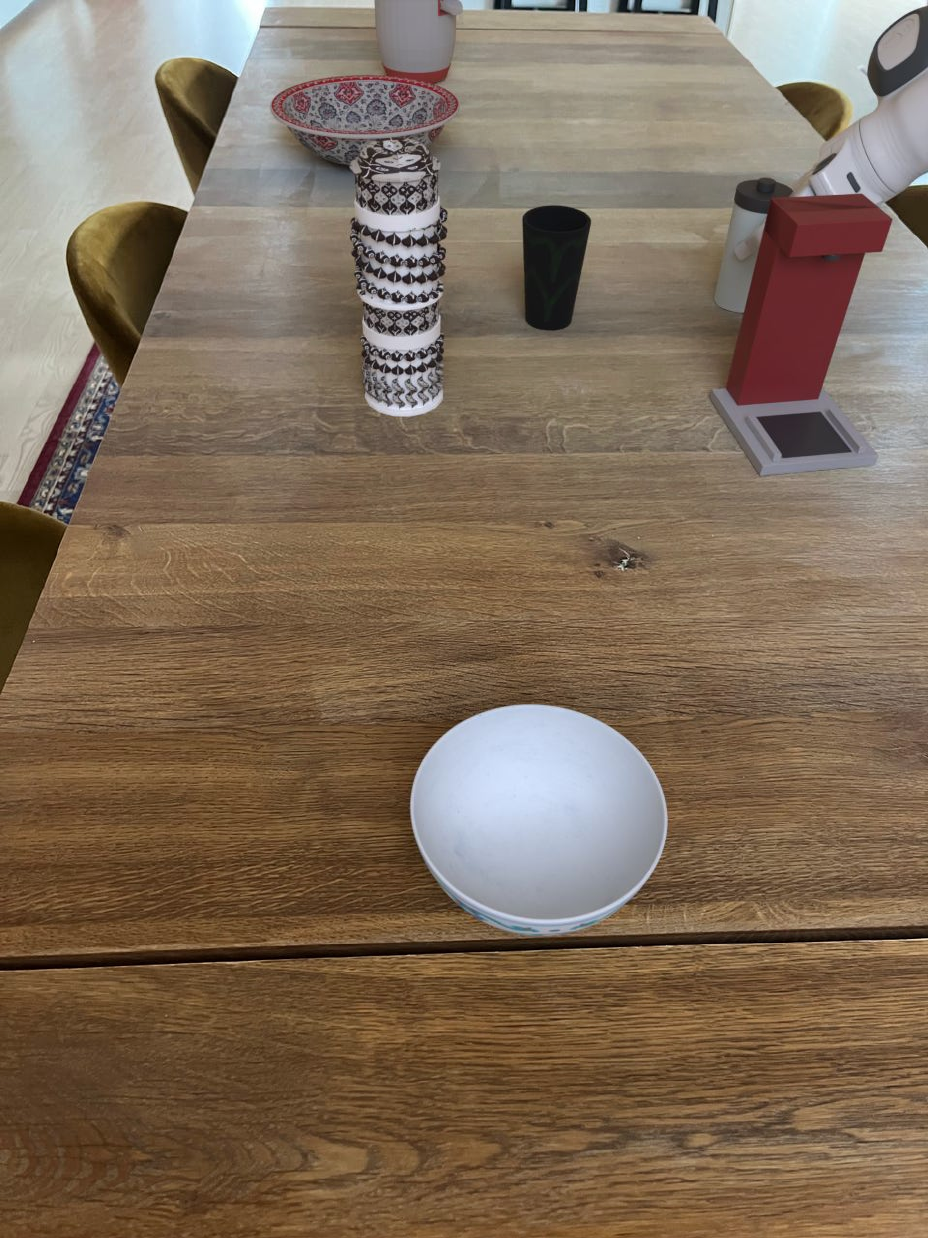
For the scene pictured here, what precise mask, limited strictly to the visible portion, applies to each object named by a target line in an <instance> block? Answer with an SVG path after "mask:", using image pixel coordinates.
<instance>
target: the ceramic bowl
mask: <svg viewBox="0 0 928 1238" xmlns="http://www.w3.org/2000/svg"><path fill="white" fill-rule="evenodd" d="M460 109H461V104H460V99H458V97H457V96H456V95H455V93H453V92H451V91H450V90H448V89H447V88H444V87H442V86H440V85H438V84H434V83H428V82H424V81H420V80H416V79H410V78H404V77H395V76H387V75H383V74H381V75H380V74H379V75H377V74H355V75H353V74H352V75H340V76H331V77H323V78H319V79H313V80H309V81H305V82H302V83H298V84H296V85H293V86H291V87H288V88H285V89H284V90H282V91H280V92H279V93H277V94H276V95H275V96H274V97H273V98H272V100H271V102H270V104H269V110H270V113H271V115H272V116H273V118H274V119H275V120H276V121H277V122H279V123H280V124H282V125H283V126H286V127H287V128H288V130H289V131H290V132H291V134H292V135H293V137H294V138H295V139H296V140H297V141H298V142H299V144H301V145H302V146H304V148H305V149H307V150H308V151H309V152H310V153H313V154H314V155H315V156H317V157H320V158H321V159H323V160H326V161H329V162H331V163H335V164H340V165H345V166H350V164H351V161H352V160H354V159H355V158H357V157H358V156H359V155H360V153H361V151H362V149H363V147H364V146H365V145H367V144H368V143H370V142H372V141H375V140H379V139H383V138H407V139H412V140H415V141H418V142H420V143H422V144H423V145H424V146H425V147H426V148H427V149H428V148H429V147H430V146H431V145H433V143H434V142H435V141H436V139H438V137H439V135H440V134H441V132H442V131H443V129H444V127H445V125H446V124H448V123H450V122H451V121H453V120H454V119H455V118H456V117H457V116H458V115H459V112H460Z"/></svg>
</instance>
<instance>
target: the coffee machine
mask: <svg viewBox="0 0 928 1238" xmlns="http://www.w3.org/2000/svg"><path fill="white" fill-rule="evenodd" d="M893 221H894V219H893V218H892V217H891V216H890V215H889V214H888V213H886V211H884V210H883V209H881V208H880V207H879V206H877V205H875V204H874V203H873V202H872V201H871V200H869V199H868V198H867V197H866V196H865V195H863V194H862V193H861V194H842V195H822V196H803V197H783V198H771V201H770V205H769V209H768V213H767V217H766V222H765V226H764V230H763V234H762V238H761V242H760V247H759V251H758V255H757V259H756V263H755V268H754V272H753V276H752V280H751V284H750V288H749V293H748V297H747V301H746V305H745V309H744V313H742V318H741V322H740V326H739V329H738V330H739V331H738V334H737V339H736V342H735V346H734V347H735V348H734V352H733V355H732V360H731V364H730V369H729V372H728V375H727V376H728V377H727V381H726V384H725V387H723V388H712V389H711V393H710V396H709V397H710V398H709V400H710V402H711V403H712V405H713V406H714V407H715V409H716V411H717V413H718V414H719V415H720V417H721V419H722V420H723V422H724V423H725V424H726V426H727V428H728V429H729V431H730V432H731V434H732V435H733V437H734V438H735V441H736V442H737V443H738V444H739V446H740V448H741V449H742V451H743V452H744V455H746V457H747V458H748V460H749V462H750V463H751V465H752V466H753V467H754V469H755V471H756V472H757V474H758V476H760V477H763V476H773V475H775V476H776V475H786V474H795V473H797V474H798V473H806V472H817V471H818V472H819V471H829V470H839V469H841V470H842V469H850V468H863V467H873V466H876V463H877V461H878V458H879V454H878V453H877V452H876V450H875V449H874V448H873V447H872V446H871V444H870V443H869V442H868V440H866V438H865V436H863V434H862V433H861V432H860V431H859V430H858V428H857V427H856V426H855V425H854V423H853V422H852V421H851V420H850V419H849V417H848V416H847V415H846V414H845V412H843V410H842V409H841V408H840V406H839V405H838V404H837V403H836V401H835V400H834V399H833V398H832V396H831V395H830V394H829V393H828V392H827V391H826V390H825V388H824V387H823V386H824V383H825V380H826V377H827V374H828V370H829V368H830V364H831V361H832V357H833V355H834V352H835V349H836V346H837V342H838V339H839V336H840V333H841V330H842V327H843V324H844V320H845V318H846V314H847V311H848V309H849V305H850V302H851V299H852V295H853V292H854V289H855V286H856V283H857V280H858V277H859V274H860V271H861V268H862V265H863V261H864V258H865V255H866V254H870V253H883V250H884V247H885V243H886V241H887V238H888V235H889V233H890V230H891V226H892V223H893Z"/></svg>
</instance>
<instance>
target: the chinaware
mask: <svg viewBox="0 0 928 1238" xmlns="http://www.w3.org/2000/svg"><path fill="white" fill-rule="evenodd" d="M415 773H416V774H415V776H414V779H413V782H412V786H411V792H410V798H409V799H410V801H409V813H410V823H411V828H412V832H413V836H414V839H415V843H416V845H417V847H418V850H419V853H420V855H421V857H422V859H423V861H424V863H425V865H426V867H427V869H428V870H429V872H430V874H431V875H432V877H433V878H434V879H435V881H436V882H437V884H438V885H439V886H440V888H441V889H442V890H443V891H444V892H445V894H446V895H447V896H448V897H449V898H450V899H451V900H452V901H453V902H455V903H456V904H457V906H458V907H460V908H462V909H463V910H464V911H466V912H467V913H468V914H470V915H471V916H473V917H474V918H476V919H478V920H479V921H481V922H483V923H484V924H487V925H489V926H491V927H493V928H496V929H499V930H501V931H505V932H508V933H512V934H517V935H521V936H528V937H529V936H531V937H552V936H561V935H566V934H570V933H574V932H578V931H581V930H583V929H587V928H589V927H591V926H592V927H593V926H594V925H596V924H598V923H600V922H602V921H604V920H605V919H607V918H609V917H610V916H612V915H613V914H615V913H616V912H618V911H619V910H620V909H621V908H622V907H624V906H625V905H626V904H627V903H628V902H629V901H631V899H633V897H634V896H635V895H636V894H637V893H638V892H639V891H640V890H641V889H642V887H643V886H644V885H645V884H646V882H647V881H648V880H649V878H650V877H651V875H652V874H653V873H654V870H655V869H656V867H657V865H658V863H659V861H660V859H661V856H662V854H663V850H664V848H665V844H666V840H667V835H668V823H669V822H668V809H667V808H668V807H667V802H666V797H665V794H664V790H663V788H662V785H661V782H660V780H659V778H658V776H657V774H656V773H655V771H654V769H653V767H652V766H651V763H650V762H649V761H648V760H647V758H646V757H645V756H644V755H643V754H642V752H641V751H640V750H639V749H638V748H637V747H636V746H635V745H634V744H633V743H632V742H631V741H630V740H629V739H628V738H626V737H625V736H624V735H622V733H620V732H619V731H617V730H616V729H614V727H613V728H612V727H611V726H610V725H608V724H607V723H605V722H603V721H601V720H599V719H597V718H594V717H593V716H590V715H588V714H586V713H582V712H579V711H576V710H574V709H570V708H566V707H561V706H555V705H548V704H538V703H537V704H534V703H531V704H530V703H529V704H528V703H525V704H523V703H521V704H512V705H505V706H501V707H496V708H492V709H488V710H485V711H482V712H480V713H476V714H474V715H472V716H470V717H468V718H466V719H464V720H463V721H461V722H459V723H457V724H456V725H455V726H453V727H451V728H450V729H448V731H447V732H445V733H444V734H443V735H442V736H441V737H440V738H438V739H437V741H436V742H435V743H434V744H433V745H432V746H431V748H429V750H428V752H427V753H426V754H425V755H424V757H423V758H422V761H421V763H420V765H419V766H418V769H417V771H416V772H415Z"/></svg>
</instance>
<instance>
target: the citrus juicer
mask: <svg viewBox="0 0 928 1238" xmlns="http://www.w3.org/2000/svg"><path fill="white" fill-rule="evenodd" d="M463 12H464V7H463V3H462V1H461V0H374V22H375V34H376V42H377V47H378V53H379V56H380V59H381V65H382V68H383V70H384V73H385V76H395V77H404V78H410V79H416V80H420V81H424V82H428V83H432V84H434V83H437V82H441V81H443V80H445V79H446V78H447V76H448V74H449V71H450V69H451V65H452V60H453V56H454V52H455V45H456V38H457V16H459V15H461V14H462V13H463Z"/></svg>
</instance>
